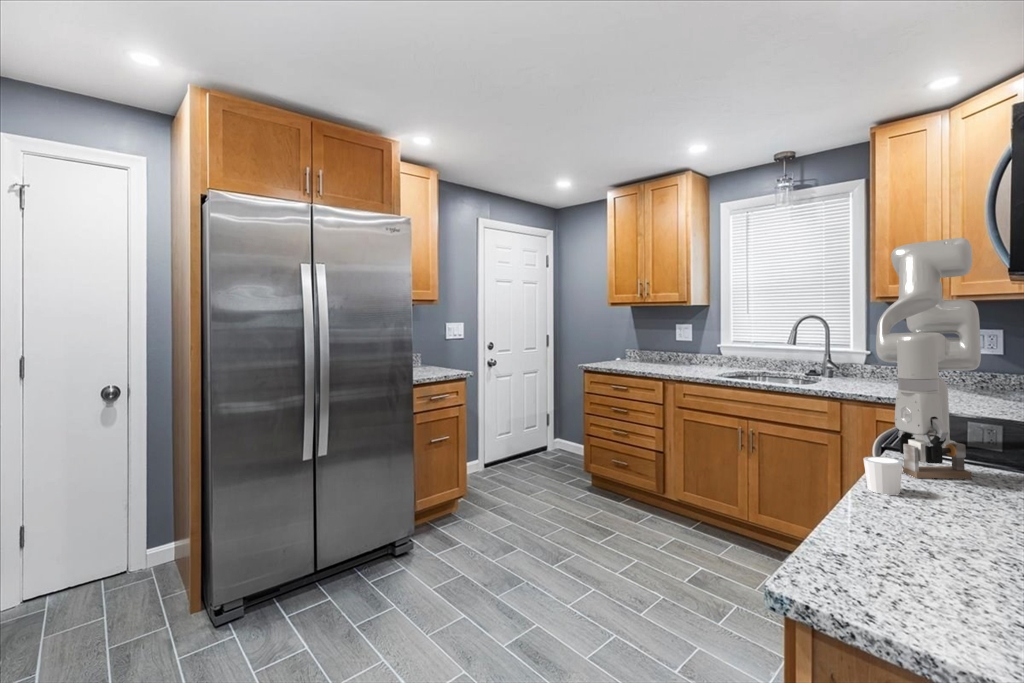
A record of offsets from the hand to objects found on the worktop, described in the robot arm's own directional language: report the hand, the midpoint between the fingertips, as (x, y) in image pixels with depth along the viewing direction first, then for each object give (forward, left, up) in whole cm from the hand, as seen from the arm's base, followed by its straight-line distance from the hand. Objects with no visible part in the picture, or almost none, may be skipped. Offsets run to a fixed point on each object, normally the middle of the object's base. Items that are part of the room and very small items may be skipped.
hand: (920, 457), depth 118 cm
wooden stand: (0, +3, -4) cm, 5 cm away
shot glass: (+12, -15, -5) cm, 20 cm away
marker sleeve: (0, 0, 0) cm, 0 cm away
